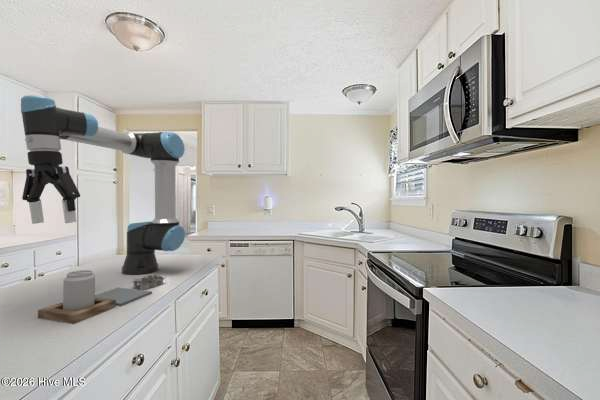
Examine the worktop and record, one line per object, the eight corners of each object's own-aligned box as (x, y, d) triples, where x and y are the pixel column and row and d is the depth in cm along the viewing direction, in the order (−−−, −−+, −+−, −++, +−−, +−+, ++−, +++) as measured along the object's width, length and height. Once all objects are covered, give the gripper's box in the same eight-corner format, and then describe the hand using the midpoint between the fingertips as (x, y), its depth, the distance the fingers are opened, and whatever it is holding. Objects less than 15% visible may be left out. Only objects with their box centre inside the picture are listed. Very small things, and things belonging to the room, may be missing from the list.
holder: (83, 302, 93) (83, 295, 93) (115, 306, 89) (115, 299, 89) (37, 317, 80) (38, 310, 80) (73, 323, 77) (73, 315, 77)
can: (77, 318, 80) (78, 276, 80) (55, 315, 82) (56, 274, 82) (100, 308, 88) (101, 269, 88) (80, 306, 89) (81, 268, 89)
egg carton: (143, 291, 106) (143, 280, 106) (129, 288, 108) (129, 278, 108) (166, 284, 115) (166, 274, 115) (153, 281, 118) (153, 271, 118)
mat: (118, 289, 106) (118, 287, 106) (151, 293, 103) (151, 291, 103) (84, 301, 94) (84, 298, 94) (120, 306, 90) (120, 303, 90)
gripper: (-1, 153, 83) (10, 225, 85) (61, 146, 76) (71, 224, 78) (30, 155, 90) (39, 221, 92) (89, 148, 83) (97, 220, 85)
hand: (54, 222), depth 85 cm, fingers open, 13 cm apart
